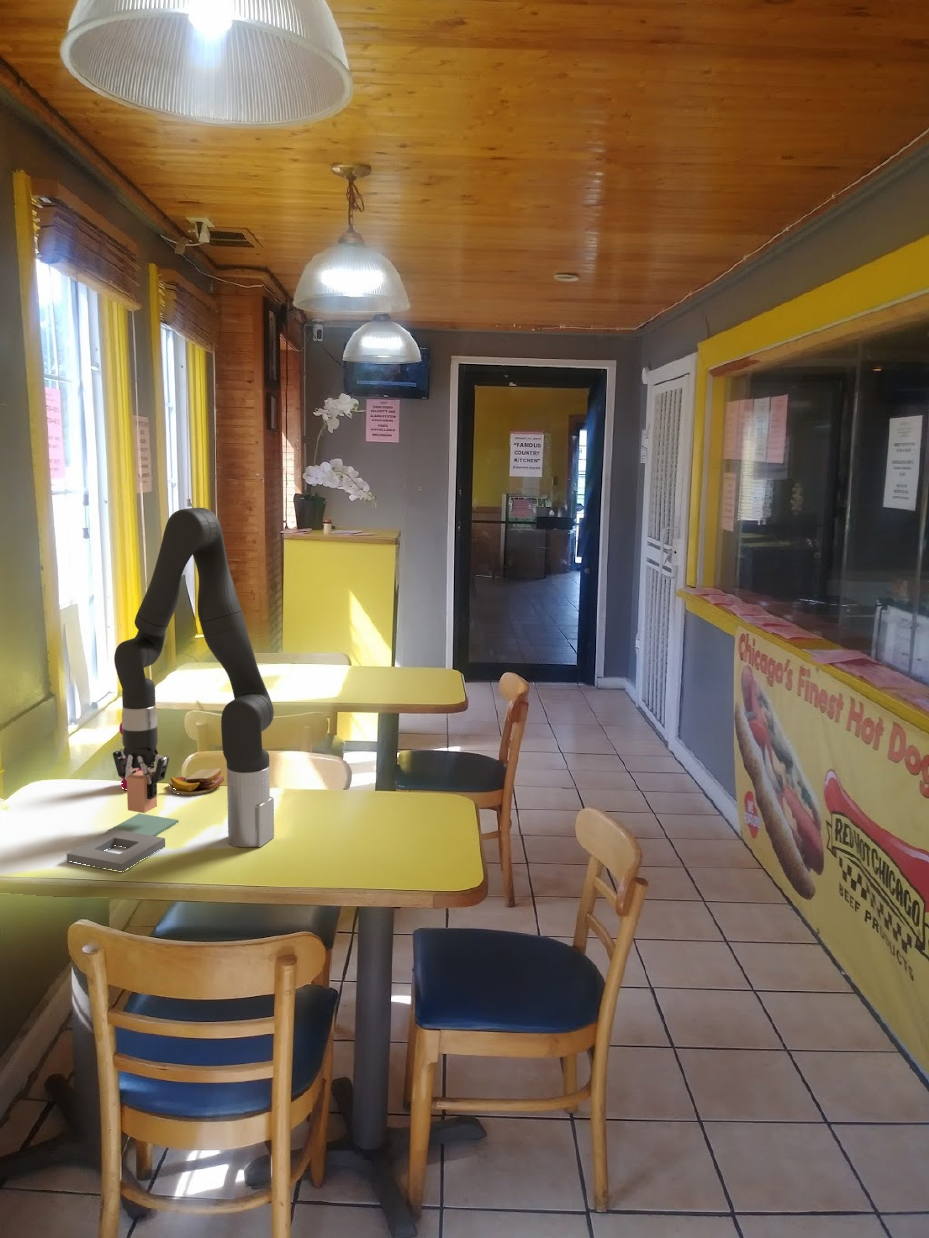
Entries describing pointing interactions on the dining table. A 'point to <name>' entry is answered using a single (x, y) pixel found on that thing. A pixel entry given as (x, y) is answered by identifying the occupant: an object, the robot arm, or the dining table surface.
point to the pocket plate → (97, 857)
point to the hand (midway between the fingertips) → (142, 796)
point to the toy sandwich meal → (197, 782)
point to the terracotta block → (139, 793)
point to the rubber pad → (146, 824)
